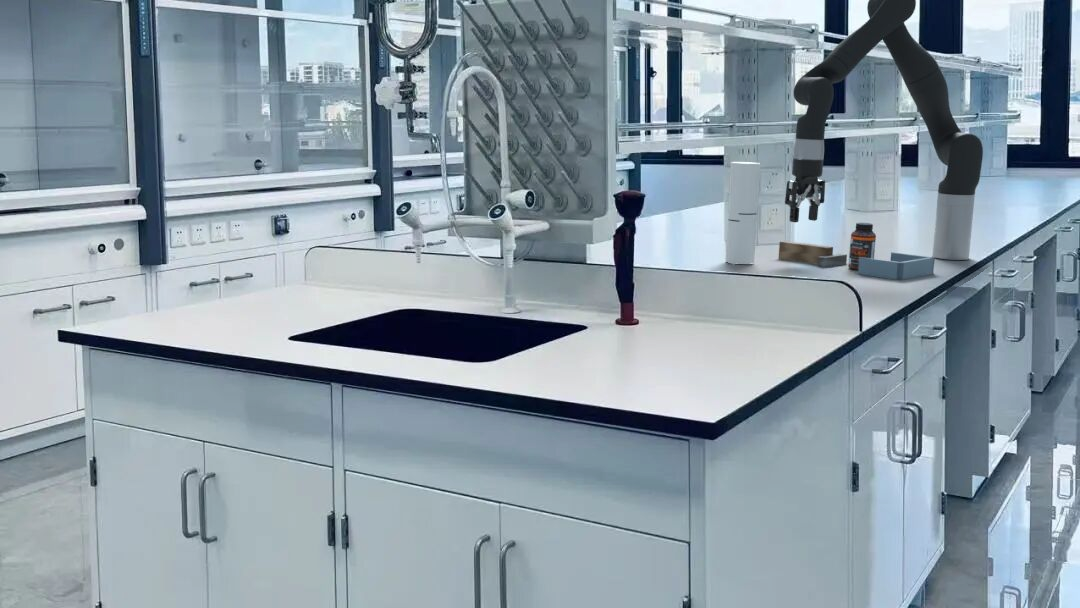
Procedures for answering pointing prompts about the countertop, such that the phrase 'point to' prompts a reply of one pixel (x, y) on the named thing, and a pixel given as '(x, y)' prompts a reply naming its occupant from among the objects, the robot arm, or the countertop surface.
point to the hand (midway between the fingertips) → (803, 221)
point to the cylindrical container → (742, 212)
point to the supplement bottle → (861, 244)
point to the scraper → (810, 254)
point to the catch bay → (897, 266)
